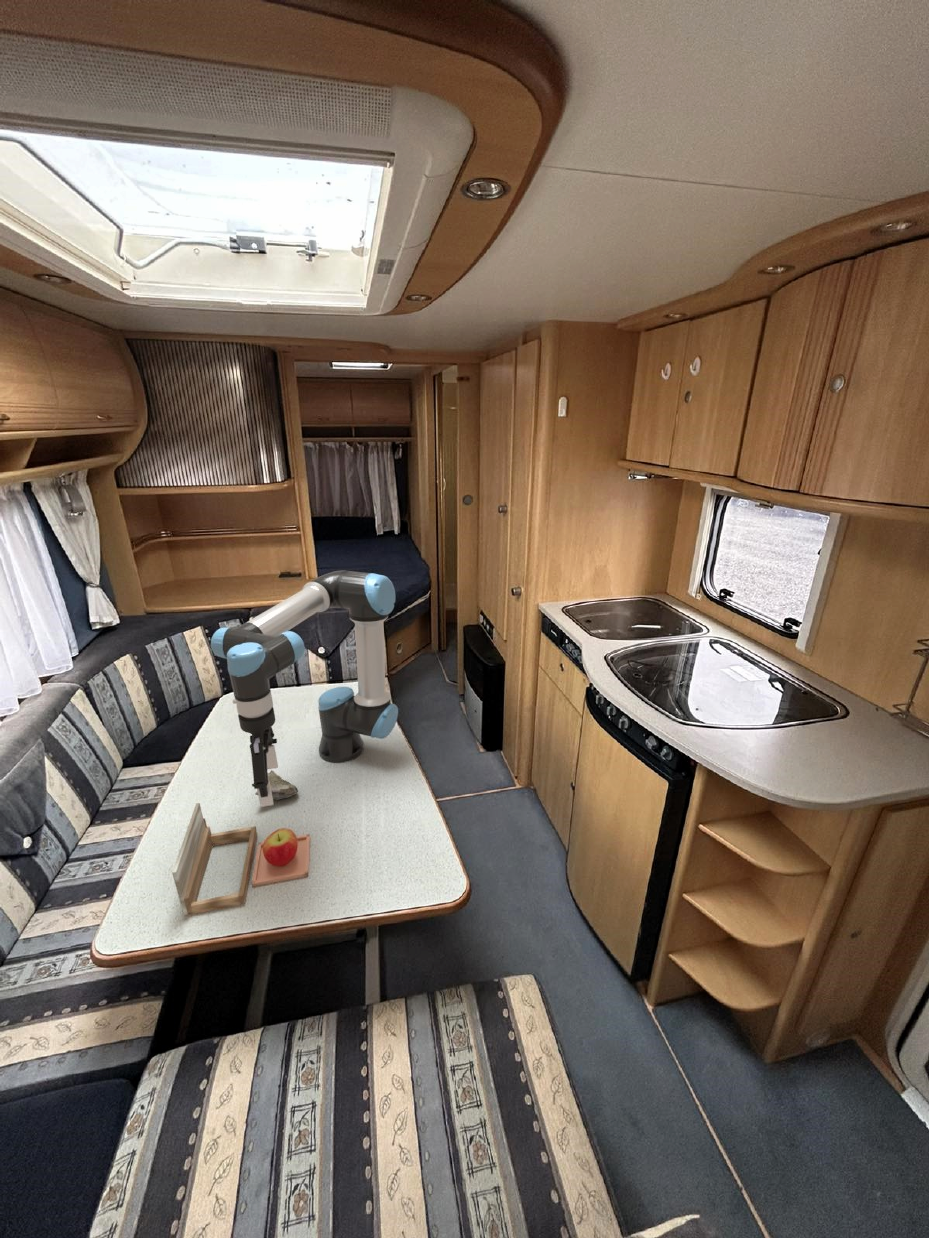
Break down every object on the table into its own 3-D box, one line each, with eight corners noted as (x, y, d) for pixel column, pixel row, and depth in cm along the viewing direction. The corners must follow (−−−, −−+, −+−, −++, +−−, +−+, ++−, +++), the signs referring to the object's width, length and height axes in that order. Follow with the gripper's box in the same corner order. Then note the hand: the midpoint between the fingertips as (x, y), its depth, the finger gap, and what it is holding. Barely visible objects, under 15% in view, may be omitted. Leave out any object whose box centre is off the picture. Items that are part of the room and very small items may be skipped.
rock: (254, 791, 144) (263, 769, 153) (254, 808, 146) (262, 785, 155) (295, 794, 146) (302, 771, 155) (294, 810, 148) (300, 787, 157)
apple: (266, 878, 124) (260, 847, 120) (264, 853, 131) (258, 822, 127) (301, 867, 127) (296, 836, 123) (297, 843, 134) (292, 813, 130)
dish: (310, 839, 136) (309, 833, 136) (308, 878, 125) (307, 872, 124) (259, 848, 134) (258, 843, 133) (252, 889, 122) (251, 883, 121)
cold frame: (258, 833, 138) (250, 791, 133) (245, 906, 117) (235, 861, 112) (207, 841, 136) (196, 800, 130) (184, 918, 115) (171, 872, 109)
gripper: (245, 685, 124) (259, 756, 132) (228, 744, 102) (246, 825, 110) (277, 681, 126) (289, 751, 134) (268, 738, 104) (282, 819, 112)
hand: (269, 785), depth 122 cm, fingers open, 13 cm apart
